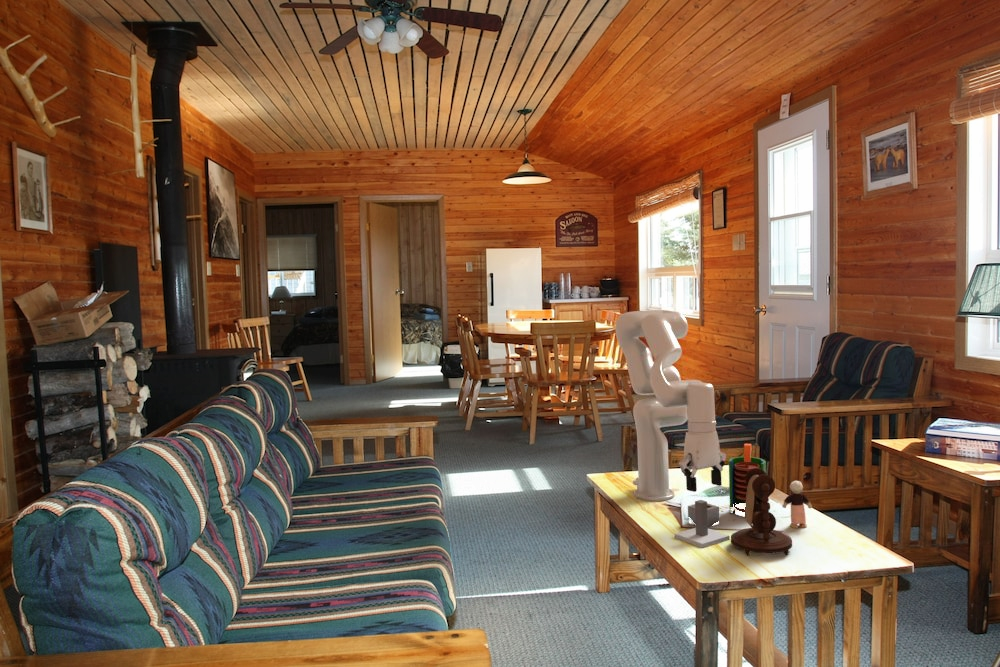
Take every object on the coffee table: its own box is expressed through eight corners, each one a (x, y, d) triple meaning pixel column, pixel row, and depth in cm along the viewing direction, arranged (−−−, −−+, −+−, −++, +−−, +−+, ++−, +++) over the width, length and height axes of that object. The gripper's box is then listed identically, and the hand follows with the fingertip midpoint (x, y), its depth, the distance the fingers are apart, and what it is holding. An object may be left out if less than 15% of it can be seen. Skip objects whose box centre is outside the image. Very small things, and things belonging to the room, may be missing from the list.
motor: (730, 517, 216) (729, 448, 214) (728, 507, 224) (727, 442, 223) (767, 518, 213) (766, 449, 212) (764, 508, 222) (763, 442, 221)
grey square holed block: (688, 523, 212) (687, 506, 212) (703, 519, 215) (702, 502, 215) (704, 528, 207) (703, 511, 207) (719, 524, 210) (718, 506, 210)
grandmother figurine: (806, 522, 208) (805, 478, 207) (813, 527, 204) (813, 481, 203) (780, 525, 207) (779, 480, 206) (787, 529, 203) (786, 483, 202)
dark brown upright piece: (724, 539, 198) (723, 464, 197) (781, 537, 197) (780, 463, 196) (739, 559, 184) (737, 479, 182) (800, 558, 183) (799, 478, 181)
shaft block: (674, 537, 201) (673, 500, 201) (701, 529, 206) (700, 493, 206) (702, 547, 193) (701, 509, 192) (729, 539, 198) (728, 502, 197)
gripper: (713, 421, 217) (715, 480, 217) (669, 429, 208) (671, 490, 208) (733, 424, 210) (736, 485, 211) (688, 432, 201) (691, 495, 202)
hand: (704, 487), depth 210 cm, fingers open, 9 cm apart
